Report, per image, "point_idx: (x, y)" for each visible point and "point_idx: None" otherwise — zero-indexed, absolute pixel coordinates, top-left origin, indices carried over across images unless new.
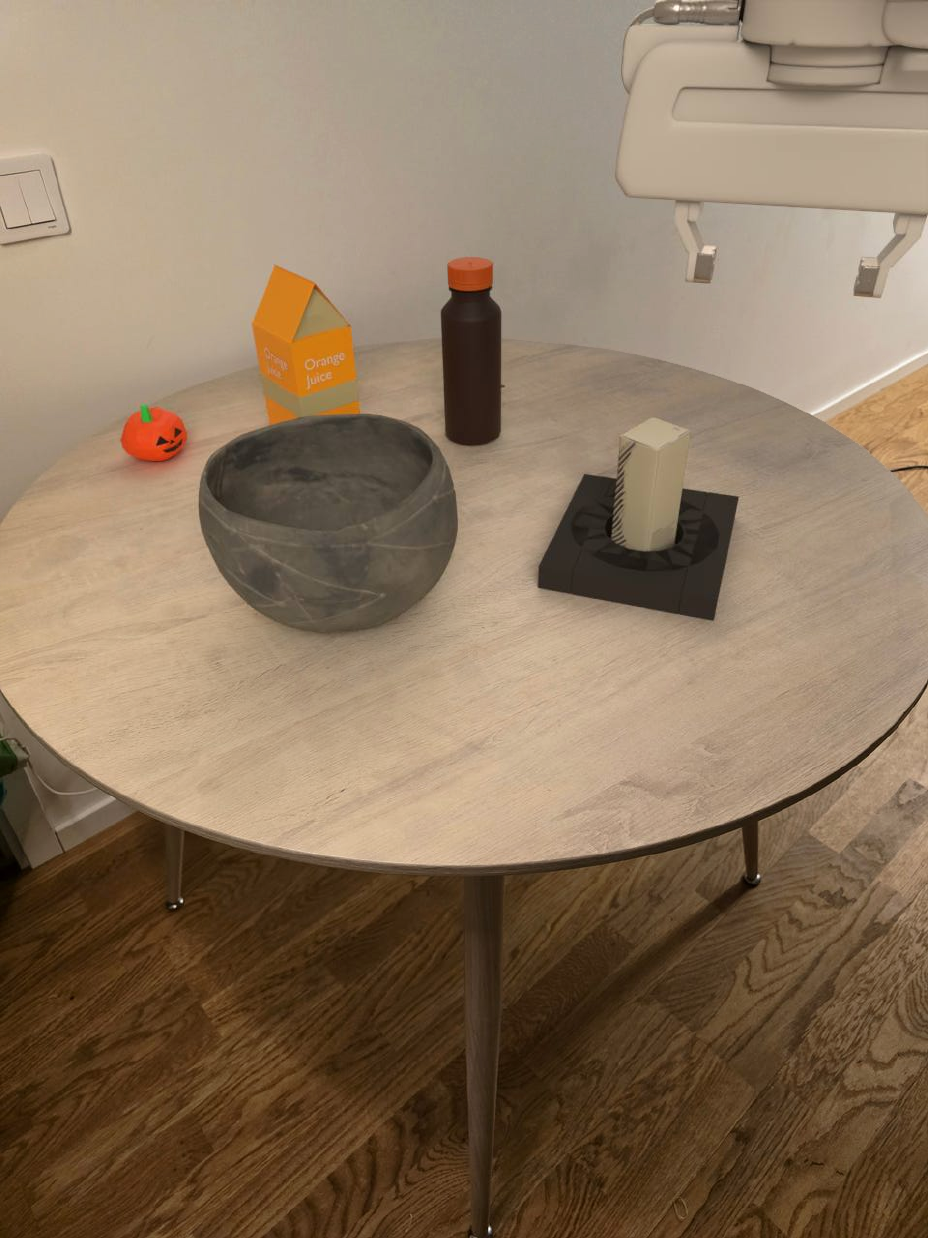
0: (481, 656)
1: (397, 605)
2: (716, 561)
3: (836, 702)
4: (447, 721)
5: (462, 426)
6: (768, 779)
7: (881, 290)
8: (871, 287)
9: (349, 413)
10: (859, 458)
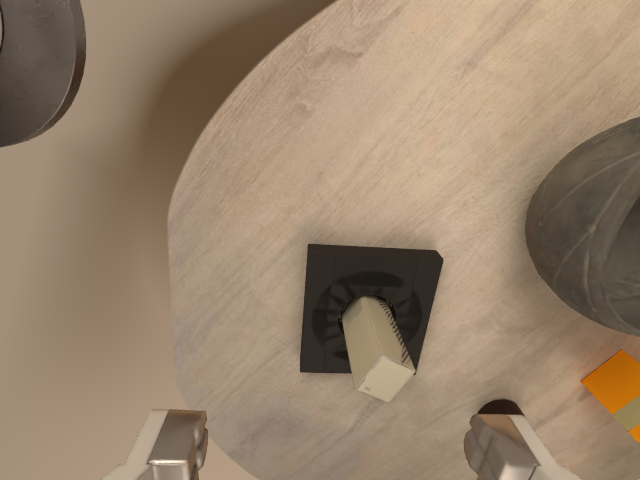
0: (472, 165)
1: (568, 155)
2: (312, 294)
3: (219, 178)
4: (492, 87)
5: (512, 411)
6: (260, 86)
7: (149, 417)
8: (169, 421)
9: (613, 401)
10: (218, 441)
